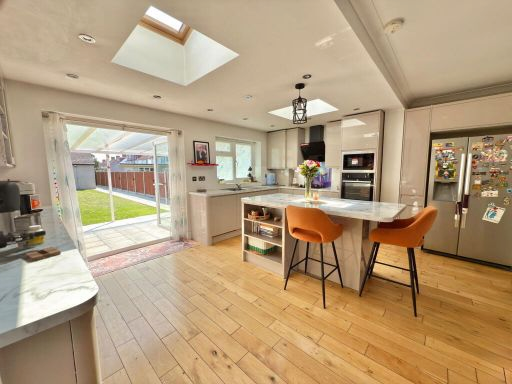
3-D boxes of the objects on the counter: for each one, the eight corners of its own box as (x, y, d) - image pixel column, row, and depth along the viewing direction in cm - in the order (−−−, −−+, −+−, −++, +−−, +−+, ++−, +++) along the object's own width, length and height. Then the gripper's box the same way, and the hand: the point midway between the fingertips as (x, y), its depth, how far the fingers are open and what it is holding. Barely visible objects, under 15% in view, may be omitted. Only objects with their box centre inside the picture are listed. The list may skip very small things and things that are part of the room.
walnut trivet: (25, 256, 92) (24, 253, 91) (52, 250, 99) (51, 247, 99) (33, 261, 86) (32, 258, 86) (60, 254, 94) (60, 250, 93)
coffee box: (28, 244, 109) (24, 214, 108) (44, 242, 112) (40, 213, 110) (17, 249, 101) (12, 217, 99) (35, 247, 104) (30, 216, 102)
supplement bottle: (30, 245, 100) (27, 225, 99) (46, 242, 103) (43, 223, 102) (27, 248, 96) (25, 228, 95) (44, 245, 99) (41, 226, 98)
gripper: (-11, 236, 83) (47, 226, 97) (-18, 231, 90) (37, 222, 104) (-8, 254, 83) (49, 241, 98) (-15, 247, 91) (39, 237, 105)
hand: (43, 231), depth 101 cm, fingers closed on supplement bottle, 5 cm apart
